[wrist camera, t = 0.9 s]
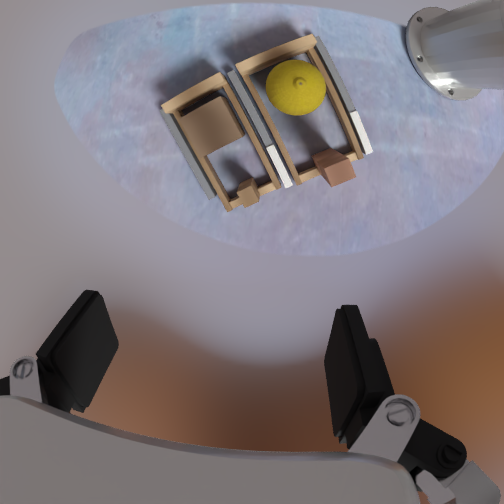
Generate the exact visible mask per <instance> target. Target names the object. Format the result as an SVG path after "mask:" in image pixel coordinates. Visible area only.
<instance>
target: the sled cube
mask: <svg viewBox="0 0 504 504" xmlns="http://www.w3.org/2000/svg"><path fill="white" fill-rule="evenodd" d="M222 88H224V89H225V91H226V93H227V95H228V97H229V99H230V100H231V102H232V104H233V106H234V108H235V110H236V112H237V113H238V115H239V117H240V119H241V121H242V123H243V125H244V127H245V129H246V130H247V132H248V134H249V136H250V138H251V140H252V142H253V144H254V146H255V148H256V150H257V152H258V154H259V156H260V158H261V160H262V162H263V164H264V166H265V168H266V170H267V172H268V174H269V176H270V178H271V180H272V181H269V182H267V183H265V184H263V185H261V186H257V184H256V182H255V180H254V178H253V177H252V178H250V179H248V180H245V181H243V182H241V183H240V184H239V187H238V190H237V194H238V196H237V197H235V198H233V199H230V197H229V196H228V194H227V192H226V190H225V188H224V186H223V185H222V183H221V181H220V179H219V177H218V175H217V174H216V172H215V170H214V168H213V166H212V164H211V163H210V161H209V159H208V157H207V155H206V156H204V157H202V158H200V157H199V155H198V153H197V151H196V149H195V148H194V146H193V144H192V142H191V140H190V138H189V137H188V135H187V133H186V131H185V129H184V128H183V126H182V124H181V122H180V120H179V119H180V118H181V117H183V116H185V115H184V113H183V111H182V110H183V109H185V108H187V107H189V106H190V105H192V104H194V103H196V102H198V101H199V100H201V99H203V98H205V97H207V96H209V95H210V94H212V93H214V92H216V91H218V90H220V89H222ZM161 106H162V108H163V110H164V112H165V113H166V114H168V113H173V114H174V116H175V118H176V120H177V122H178V123H179V125H180V127H181V129H182V131H183V132H184V134H185V136H186V138H187V140H188V142H189V143H190V145H191V147H192V149H193V151H194V152H195V154H196V156H197V158H198V160H199V161H200V163H201V165H202V167H203V169H204V171H205V172H206V174H207V176H208V178H209V180H210V181H211V183H212V185H213V187H214V189H215V190H216V192H217V194H218V196H219V198H220V199H221V201H222V203H223V205H224V207H225V209H226V210H227V212H229V211H231V210H232V209H233V208H235V207H238V206H240V205H242V204H243V205H244V207H245V208H246V207H248V206H250V205H252V204H255V203H257V202H259V197H260V196H261V195H264V194H266V193H268V192H270V191H273V190H275V189H276V190H277V189H279V188H281V183H280V181H279V179H278V177H277V175H276V173H275V171H274V169H273V167H272V165H271V163H270V161H269V159H268V157H267V155H266V153H265V151H264V149H263V147H262V145H261V143H260V141H259V139H258V137H257V135H256V133H255V131H254V129H253V127H252V125H251V123H250V122H249V120H248V118H247V116H246V114H245V112H244V110H243V108H242V106H241V105H240V103H239V101H238V99H237V97H236V95H235V93H234V92H233V90H232V88H231V86H230V84H229V83H228V81H227V79H226V77H225V76H224V75H223V74H221V73H220V72H219V73H217V74H215V75H213V76H211V77H209V78H207V79H206V80H204V81H202V82H200V83H198V84H196V85H195V86H193V87H191V88H189V89H187V90H186V91H184V92H182V93H181V94H179V95H177V96H176V97H174V98H172V99H171V100H169V101H167V102H166V103H164V104H162V105H161Z"/></svg>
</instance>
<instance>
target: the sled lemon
mask: <svg viewBox="0 0 504 504" xmlns="http://www.w3.org/2000/svg"><path fill="white" fill-rule="evenodd" d="M316 43H317V41H316V39H315V37H314V36H313V34H310V35H307V36H304V37H301V38H298V39H295V40H293V41H290V42H287V43H285V44H282V45H279V46H277V47H274V48H272V49H269V50H267V51H264V52H262V53H260V54H257V55H255V56H253V57H251V58H248V59H246V60H244V61H242V62H240V63H237V64H235V65H236V67H237V69H238V71H239V72H240V74H241V75H242V77H243V79H244V81H245V83H246V84H247V86H248V88H249V90H250V92H251V94H252V96H253V97H254V99H255V101H256V103H257V105H258V107H259V109H260V111H261V113H262V115H263V116H264V118H265V120H266V122H267V124H268V126H269V128H270V130H271V132H272V134H273V136H274V138H275V140H276V142H277V144H278V146H279V148H280V150H281V152H282V155H283V157H284V159H285V161H286V163H287V165H288V167H289V169H290V171H291V174H292V176H293V178H294V180H295V182H296V184H297V185H300V184H302V182H304V181H307V180H309V179H311V178H314V177H316V176H318V175H322V176H323V177H324V179H325V180H326V181H327V182H328V183H329V184H330V186H331V187H333V186H336V185H338V184H341V183H343V182H345V181H348V180H350V179H353V178H355V177H356V175H355V173H354V170H353V167H352V165H351V162H352V161H355V160H357V159H359V160H360V159H362V158H364V157H363V154H362V151H361V149H360V146H359V144H358V141H357V138H356V136H355V134H354V131H353V129H352V126H351V124H350V121H349V119H348V117H347V115H346V112H345V110H344V108H343V105H342V103H341V101H340V99H339V97H338V95H337V92H336V90H335V88H334V86H333V84H332V82H331V80H330V78H329V76H328V74H327V72H326V70H325V68H324V66H323V64H322V62H321V60H320V59H319V57H318V55H317V53H316V51H315V49H314V48H313V47H314V46H315V45H316ZM305 52H306V53H307V55H308V57H309V58H310V60H311V62H312V64H313V66H315V67H316V68H317V69H318V70H319V71H320V72H321V74H322V76H323V77H324V80H325V84H326V92H327V94H328V96H329V98H330V100H331V102H332V104H333V107H334V109H335V111H336V113H337V115H338V118H339V120H340V122H341V125H342V127H343V129H344V132H345V134H346V136H347V139H348V141H349V144H350V146H351V149H352V151H351V152H348V153H346V154H344V155H343V154H341V153H339V152H337V151H336V150H334V149H332V148H329V149H327V150H324V151H322V152H319V153H317V154H315V155H312V156H311V157H312V159H313V161H314V163H315V167H312V168H310V169H308V170H305V171H303V172H301V173H297V171H296V169H295V167H294V164H293V162H292V160H291V158H290V156H289V154H288V152H287V150H286V147H285V145H284V143H283V141H282V139H281V137H280V135H279V133H278V131H277V129H276V127H275V125H274V123H273V121H272V119H271V117H270V115H269V113H268V111H267V109H266V107H265V106H264V104H263V102H262V100H261V98H260V96H259V94H258V92H257V90H256V89H255V87H254V85H253V83H252V81H251V79H250V78H249V75H251V74H253V73H256V72H258V71H260V70H262V69H265V68H267V67H269V66H272V65H274V64H277V63H279V62H282V61H284V60H287V59H289V58H292V57H294V56H297V55H300V54H302V53H305Z"/></svg>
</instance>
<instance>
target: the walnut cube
mask: <svg viewBox="0 0 504 504" xmlns="http://www.w3.org/2000/svg"><path fill="white" fill-rule="evenodd" d="M179 120H180V122H181V124H182V126H183V128H184V129H185V131H186V133H187V135H188V137H189V138H190V140H191V142H192V144H193V146H194V148H195V149H196V151H197V153H198V155H199V157H200V158H202V157H204V156H206V155H208V154H210V153H212V152H214V151H215V150H217V149H219V148H221V147H223V146H225V145H227V144H229V143H231V142H233V141H235V140H237V139H239V138H241V137H243V136H244V135H245V132H244V130H243V128H242V126H241V124H240V122H239V121H238V119H237V117H236V115H235V113H234V111H233V109H232V107H231V106H230V104H229V102H228V100H227V98H224V97H221V96H220V97H218V98H216V99H214V100H212V101H210V102H208V103H206V104H204V105H203V106H201V107H199V108H197V109H195V110H194V111H192V112H190V113H188V114H187V115H185V116H183V117H181V118H180V119H179Z"/></svg>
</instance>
